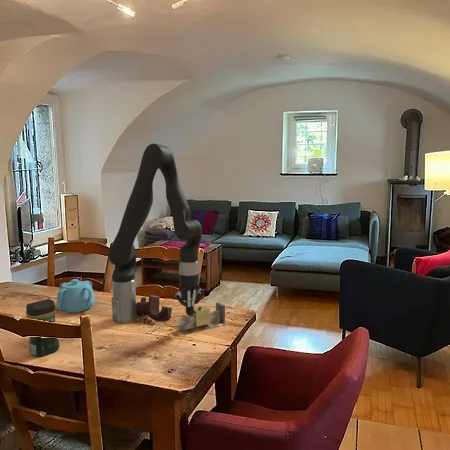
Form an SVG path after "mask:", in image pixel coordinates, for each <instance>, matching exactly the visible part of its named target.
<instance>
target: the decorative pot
mask: <svg viewBox="0 0 450 450" xmlns="http://www.w3.org/2000/svg"><path fill="white" fill-rule="evenodd" d="M95 303H96V296H95V292H94V290H93V283H92V281H89V280H84V281H83V280H79V279H78V278H74V279H71V280H70V281H69V282H62V283H60V284H59V290H58V292H57V296H56V303H55V305H56V308H57V309H58V310H60V311H63V312H67V313H73V314H80V312H81V311H85V310H89V309H91V307H93V305H94V304H95Z"/></svg>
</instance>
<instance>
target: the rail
mask: <svg viewBox="0 0 450 450" xmlns="http://www.w3.org/2000/svg"><path fill="white" fill-rule="evenodd" d="M178 320H179V321H178V322H179V323H178V325H173V326H172V328H173V329H174V330H176V331H177V332H178V333H180V334H182V335H183V336H187V335H191V334H194V333H198V332H199V333H200V332H203V331H206V330H207V331H208V330H211V329H215V328H218V327H219V328H220V327H223V326H227V325H229V324H228V323H227V322H226V306H225V305H224V304H222V303H220V302H218V301H217V302H216V303H215V310H212V311H210V324H206V325H202V326H197V327H196V326H195V317H194V316H185V317H180V318H178Z"/></svg>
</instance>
